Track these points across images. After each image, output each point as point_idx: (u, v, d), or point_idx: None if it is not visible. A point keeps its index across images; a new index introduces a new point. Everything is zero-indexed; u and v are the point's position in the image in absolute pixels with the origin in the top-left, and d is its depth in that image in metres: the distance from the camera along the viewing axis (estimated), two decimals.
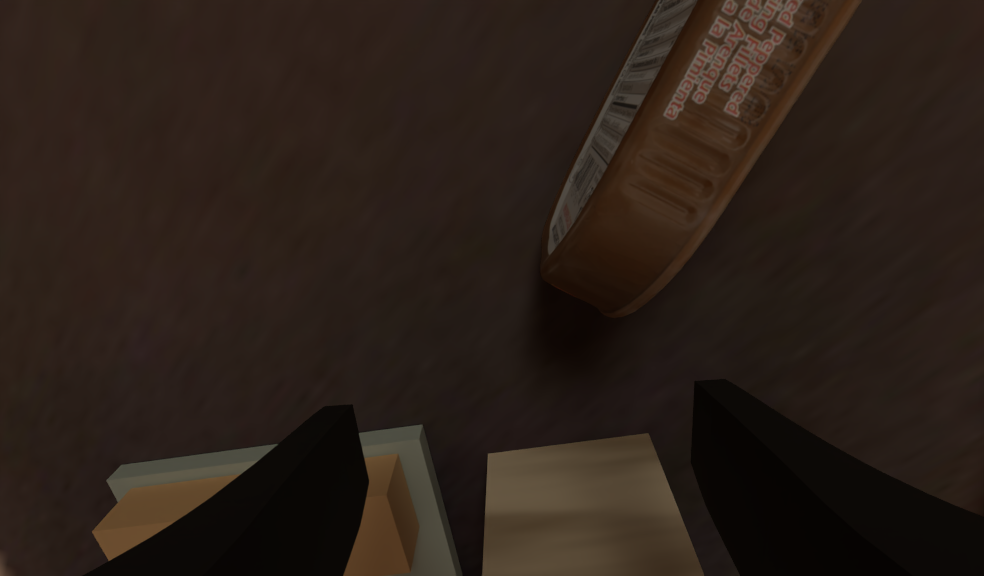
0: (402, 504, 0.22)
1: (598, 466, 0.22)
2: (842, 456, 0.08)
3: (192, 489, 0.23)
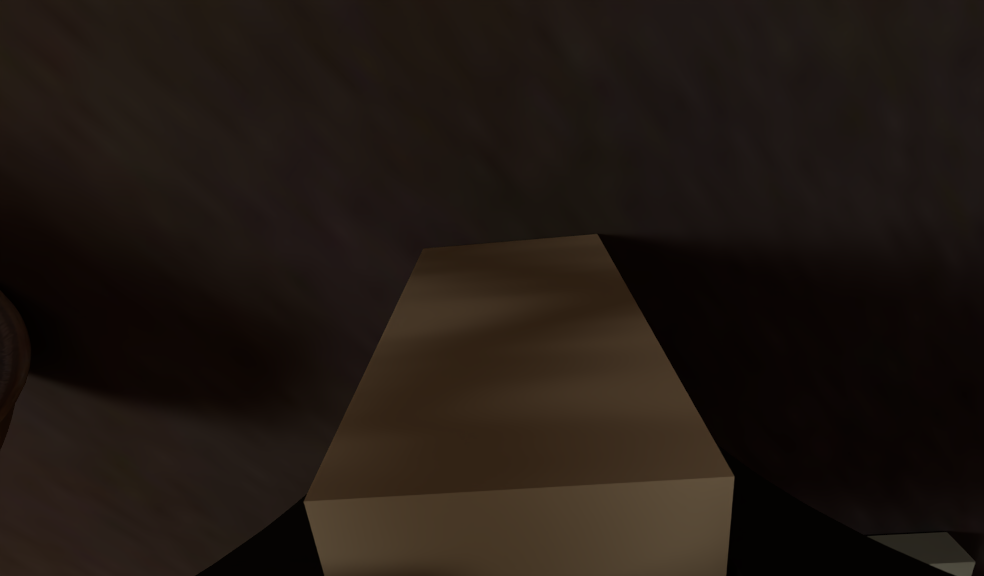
0: None
1: None
2: (732, 463, 0.08)
3: None
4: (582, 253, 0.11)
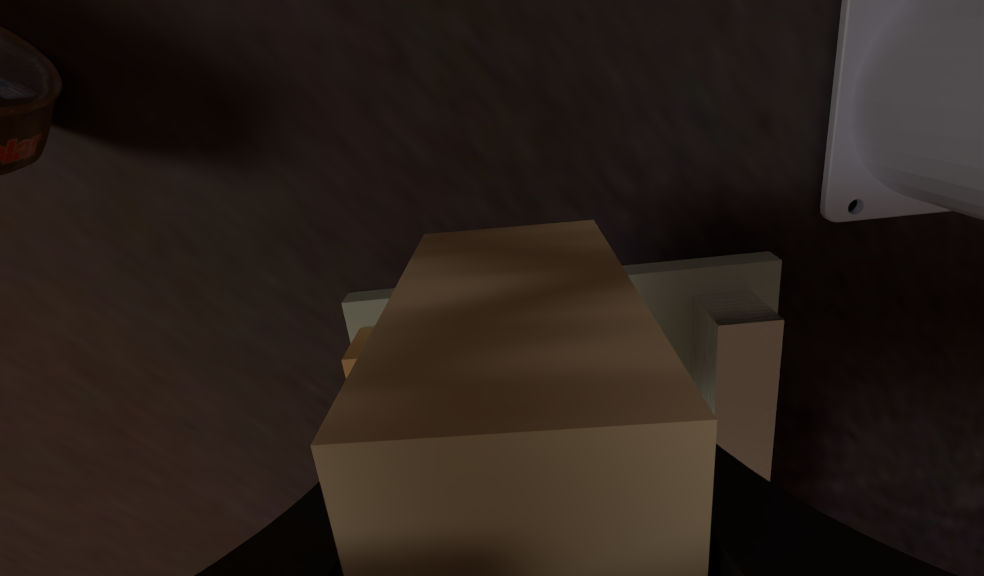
0: None
1: None
2: (733, 463, 0.08)
3: None
4: (578, 236, 0.12)
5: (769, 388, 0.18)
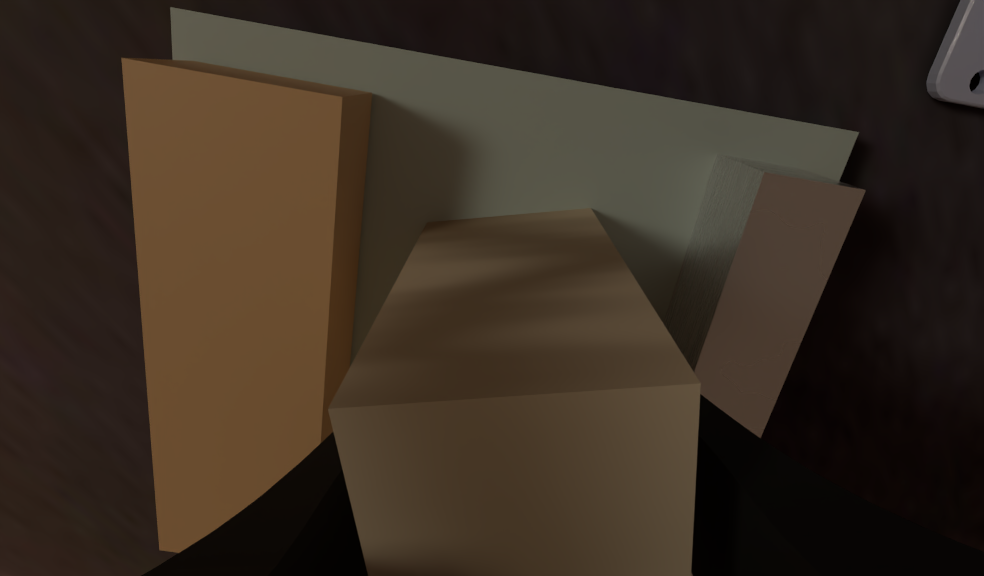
0: (244, 74, 0.11)
1: None
2: (784, 460, 0.08)
3: None
4: (576, 223, 0.12)
5: (803, 303, 0.11)
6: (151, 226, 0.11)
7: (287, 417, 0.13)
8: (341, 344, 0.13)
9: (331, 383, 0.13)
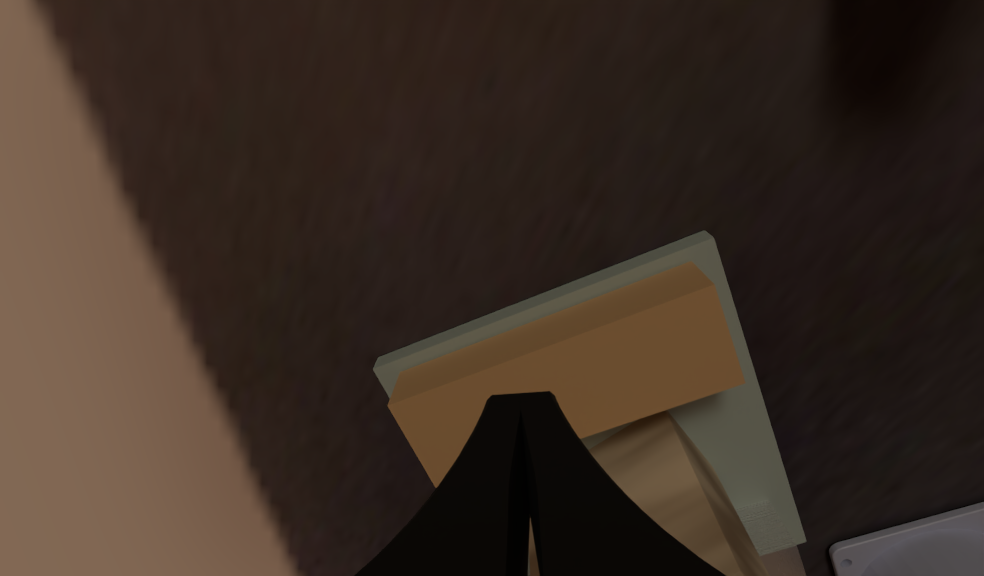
0: None
1: (621, 461, 0.21)
2: (593, 471, 0.08)
3: (471, 351, 0.21)
4: (718, 481, 0.22)
5: None
6: (626, 327, 0.18)
7: None
8: None
9: None
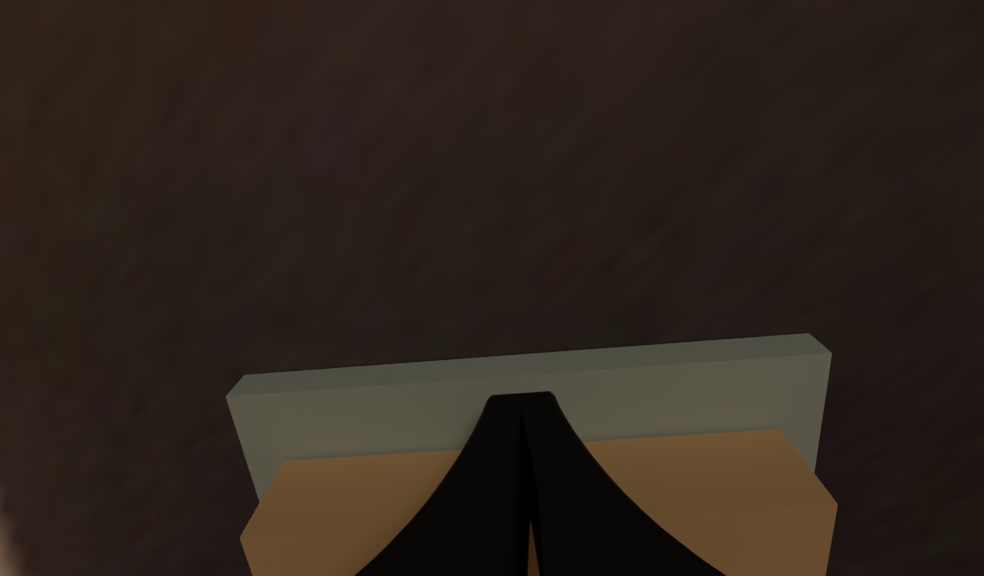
0: None
1: None
2: (593, 471, 0.08)
3: (407, 469, 0.13)
4: None
5: None
6: (675, 527, 0.11)
7: None
8: None
9: None
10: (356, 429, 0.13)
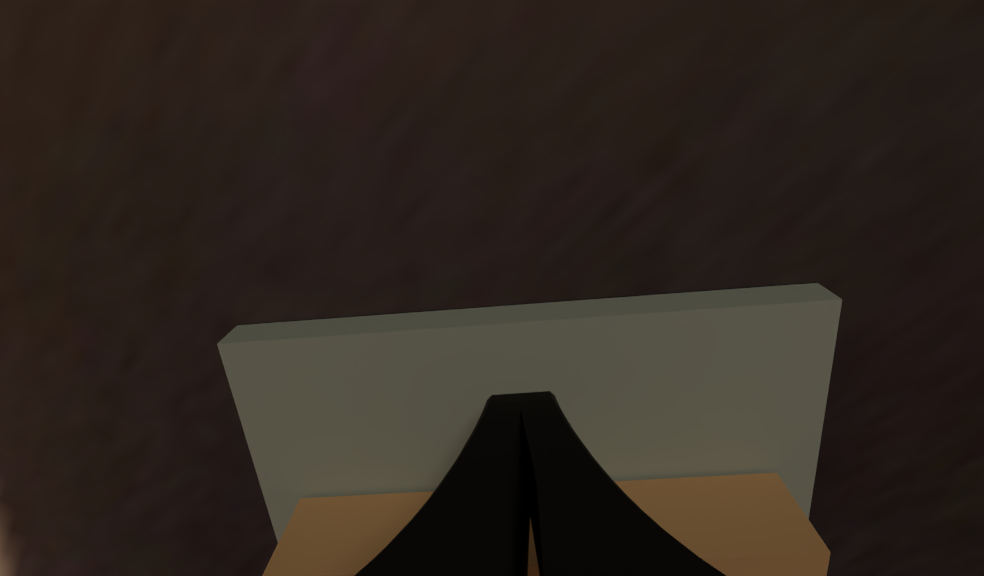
0: None
1: None
2: (593, 471, 0.08)
3: (419, 509, 0.13)
4: None
5: None
6: None
7: None
8: None
9: None
10: (351, 379, 0.13)
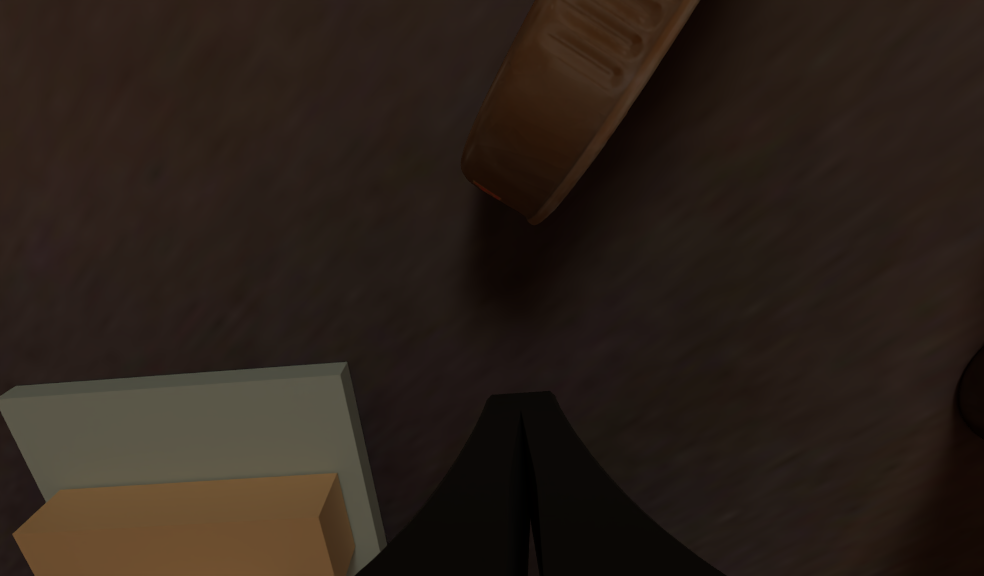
0: (337, 525, 0.22)
1: None
2: (593, 471, 0.08)
3: (123, 495, 0.22)
4: None
5: None
6: (239, 528, 0.20)
7: None
8: None
9: None
10: (76, 419, 0.22)
